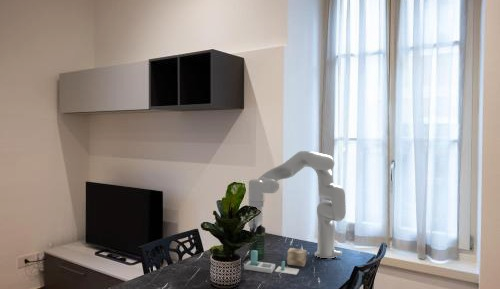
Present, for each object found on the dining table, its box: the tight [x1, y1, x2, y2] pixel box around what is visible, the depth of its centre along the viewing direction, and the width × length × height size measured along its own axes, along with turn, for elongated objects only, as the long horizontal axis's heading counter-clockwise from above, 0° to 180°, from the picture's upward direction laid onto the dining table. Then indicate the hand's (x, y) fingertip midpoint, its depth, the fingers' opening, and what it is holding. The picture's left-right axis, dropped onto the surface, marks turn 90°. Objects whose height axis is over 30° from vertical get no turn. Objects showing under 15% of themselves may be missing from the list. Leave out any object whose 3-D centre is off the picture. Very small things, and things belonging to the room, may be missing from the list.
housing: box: [286, 247, 307, 267], centre depth 187 cm, size 9×6×8 cm
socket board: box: [243, 260, 276, 274], centre depth 178 cm, size 14×8×2 cm, turn 72°
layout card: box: [274, 260, 300, 276], centre depth 176 cm, size 11×8×5 cm
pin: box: [250, 250, 258, 266], centre depth 179 cm, size 3×3×9 cm
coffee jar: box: [248, 225, 266, 261], centre depth 196 cm, size 10×8×19 cm
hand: (256, 236), depth 179 cm, fingers open, 9 cm apart
